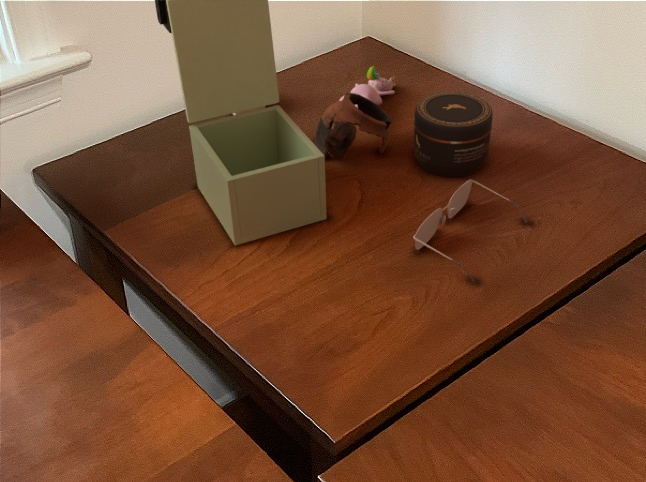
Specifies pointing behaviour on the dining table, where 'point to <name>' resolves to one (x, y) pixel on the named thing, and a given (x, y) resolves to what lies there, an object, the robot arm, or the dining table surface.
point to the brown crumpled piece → (350, 125)
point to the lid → (223, 55)
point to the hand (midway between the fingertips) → (208, 21)
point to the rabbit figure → (374, 87)
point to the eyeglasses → (454, 206)
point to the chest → (259, 173)
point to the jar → (452, 133)
